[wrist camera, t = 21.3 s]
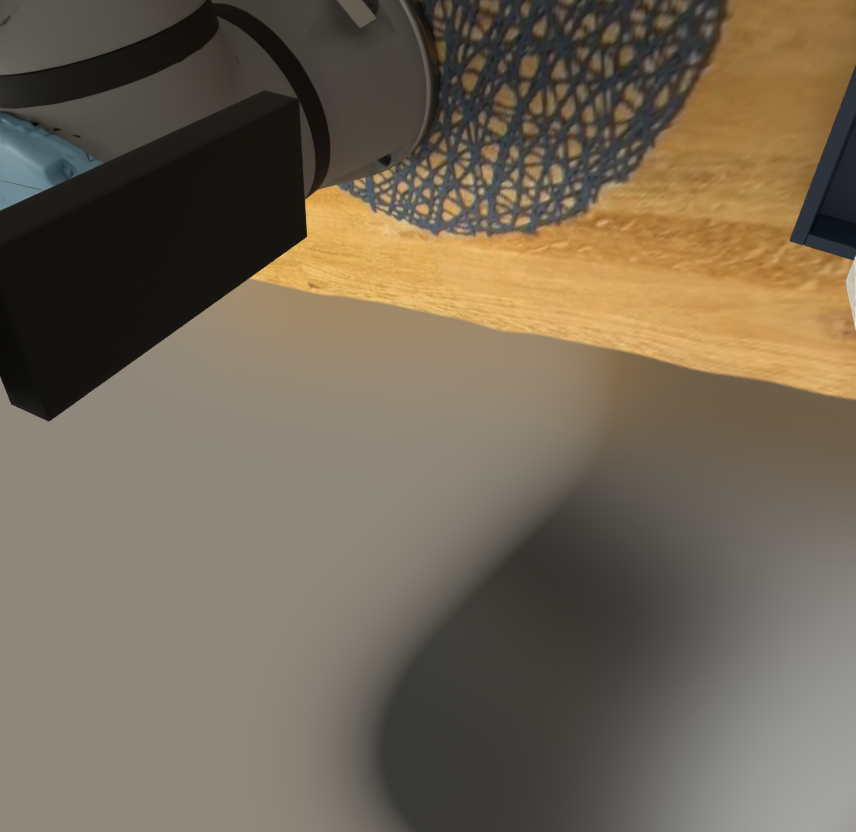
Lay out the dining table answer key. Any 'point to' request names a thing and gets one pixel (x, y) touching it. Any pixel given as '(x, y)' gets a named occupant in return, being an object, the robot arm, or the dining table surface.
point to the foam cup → (852, 289)
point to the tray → (833, 188)
